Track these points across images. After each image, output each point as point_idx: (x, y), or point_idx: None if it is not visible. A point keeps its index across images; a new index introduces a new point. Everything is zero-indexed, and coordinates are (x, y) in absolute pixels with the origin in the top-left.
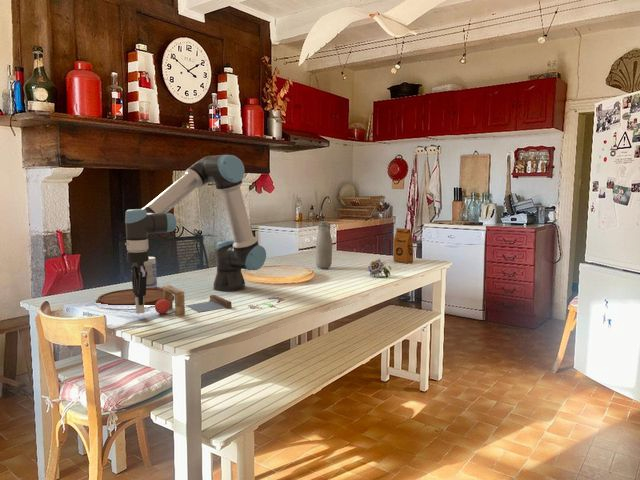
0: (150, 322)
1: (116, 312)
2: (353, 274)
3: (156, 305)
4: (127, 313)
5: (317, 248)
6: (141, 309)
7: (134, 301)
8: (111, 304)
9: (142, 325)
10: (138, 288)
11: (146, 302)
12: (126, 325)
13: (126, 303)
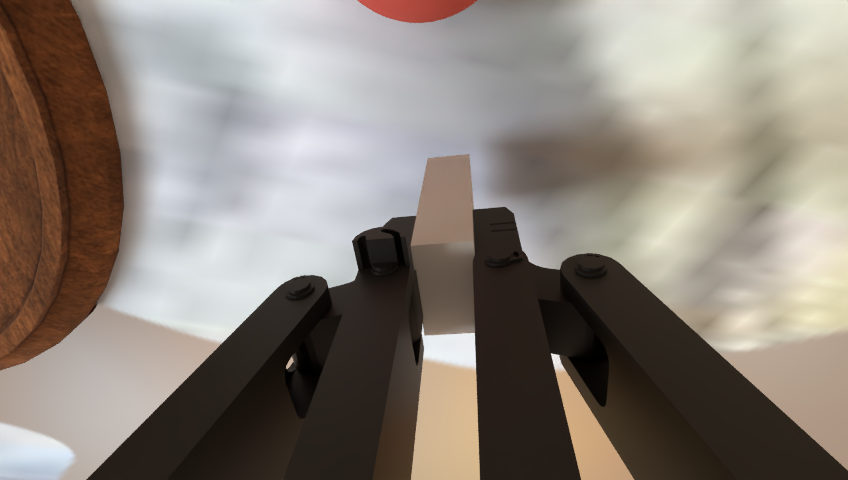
0: (687, 130)
1: (201, 300)
2: None
3: (448, 11)
4: (262, 239)
5: None
6: (472, 197)
7: None
8: (36, 328)
9: (730, 211)
10: (612, 442)
11: (12, 39)
12: None
13: (46, 235)
